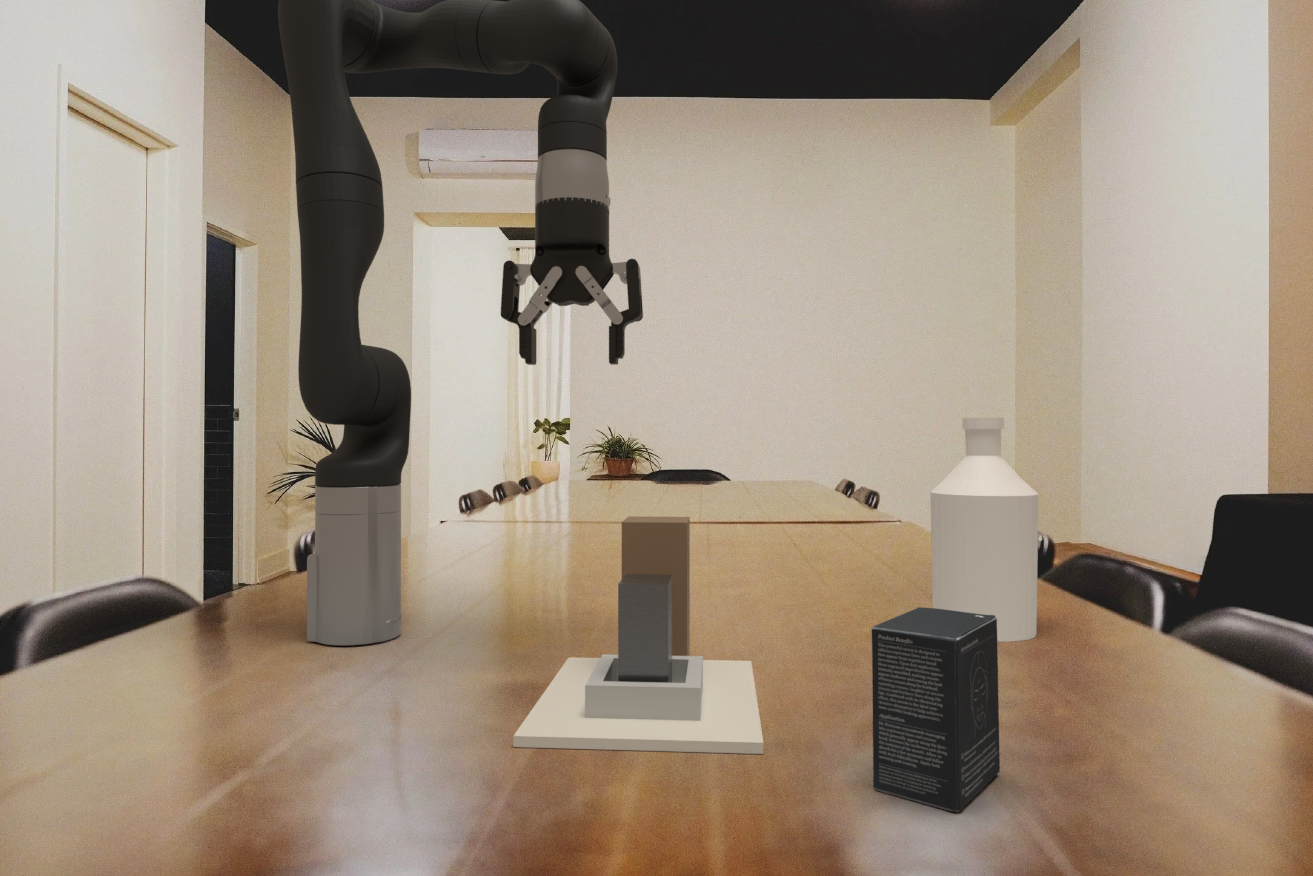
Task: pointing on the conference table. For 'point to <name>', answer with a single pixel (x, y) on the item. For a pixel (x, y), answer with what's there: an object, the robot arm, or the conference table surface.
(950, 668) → the box
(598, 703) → the post base
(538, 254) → the robot arm
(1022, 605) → the bottle
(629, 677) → the tall grey pillar block
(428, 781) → the conference table surface
